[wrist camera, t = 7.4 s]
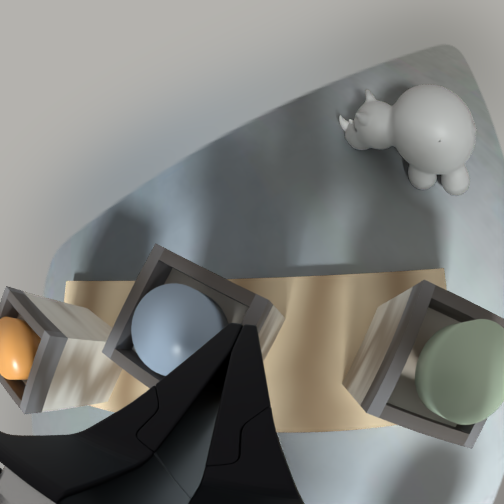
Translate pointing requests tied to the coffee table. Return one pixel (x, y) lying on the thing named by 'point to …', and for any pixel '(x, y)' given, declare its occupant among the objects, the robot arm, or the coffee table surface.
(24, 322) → the orange button
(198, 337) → the slate button
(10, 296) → the button board
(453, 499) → the coffee table surface
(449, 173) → the toy rhinoceros
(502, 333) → the sage button
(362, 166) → the coffee table surface
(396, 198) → the coffee table surface
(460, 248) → the coffee table surface
